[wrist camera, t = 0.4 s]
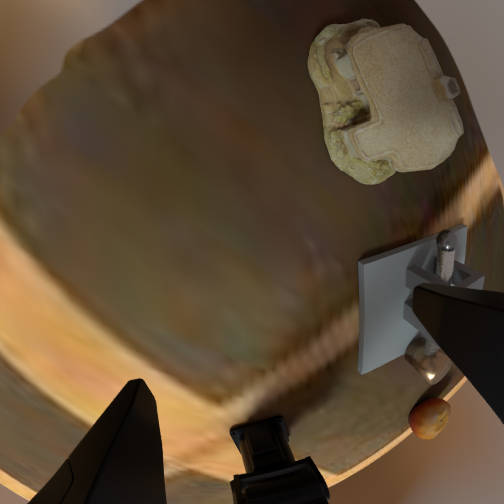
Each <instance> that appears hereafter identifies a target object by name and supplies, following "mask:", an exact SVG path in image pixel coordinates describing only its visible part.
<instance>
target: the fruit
mask: <svg viewBox="0 0 504 504" xmlns="http://www.w3.org/2000/svg"><path fill="white" fill-rule="evenodd" d="M449 416H450V405H449V404H448V403H447V402H446V401H445V400H443V399H441V398H435V397H432V398H429V399H427V400H425V401H423V402H422V403H421V404H419V405H418V406H417V407H415V408H414V409H413V410H412V411H411V413H410V415H409V418H408V421H409V424H410V427H411V429H412V431H413V432H414V434H416V435H417V436H418V437H420V438H422V439H426V440H429V439H432V438H434V437H435V436H436V435H437V434H438V433H440V432H441V431H442V430H443V428H444V427H445V426H446V424H447V421H448V420H449Z"/></svg>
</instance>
